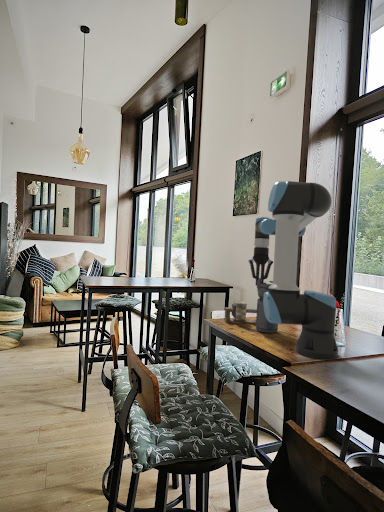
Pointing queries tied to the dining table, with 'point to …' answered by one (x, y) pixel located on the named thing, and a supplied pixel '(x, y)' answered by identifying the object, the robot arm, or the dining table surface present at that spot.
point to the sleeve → (240, 310)
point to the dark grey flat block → (234, 310)
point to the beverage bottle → (261, 320)
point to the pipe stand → (228, 320)
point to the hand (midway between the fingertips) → (259, 292)
